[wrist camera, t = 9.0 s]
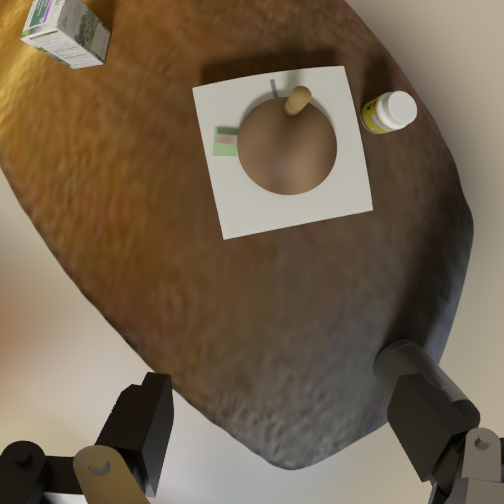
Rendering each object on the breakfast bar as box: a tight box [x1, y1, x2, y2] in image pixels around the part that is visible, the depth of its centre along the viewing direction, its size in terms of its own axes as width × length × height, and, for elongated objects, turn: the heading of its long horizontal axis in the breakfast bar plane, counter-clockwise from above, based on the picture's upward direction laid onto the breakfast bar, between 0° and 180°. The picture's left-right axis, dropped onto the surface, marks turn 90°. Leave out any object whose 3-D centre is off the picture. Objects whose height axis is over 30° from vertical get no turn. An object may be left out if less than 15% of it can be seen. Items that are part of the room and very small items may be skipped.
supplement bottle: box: [360, 91, 417, 134], centre depth 33 cm, size 5×5×8 cm
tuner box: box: [192, 66, 373, 240], centre depth 36 cm, size 18×18×5 cm
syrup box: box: [21, 0, 111, 69], centre depth 26 cm, size 6×6×14 cm
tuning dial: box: [215, 86, 337, 195], centre depth 30 cm, size 13×11×7 cm
